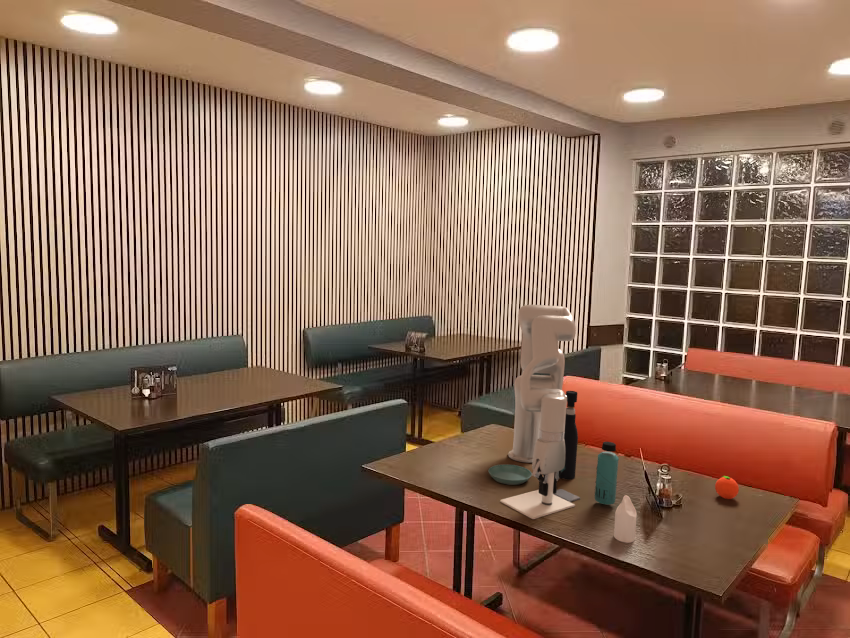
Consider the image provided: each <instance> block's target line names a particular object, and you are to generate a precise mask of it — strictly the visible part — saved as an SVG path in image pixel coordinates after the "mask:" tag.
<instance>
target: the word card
mask: <svg viewBox="0 0 850 638" xmlns="http://www.w3.org/2000/svg"><path fill="white" fill-rule="evenodd" d="M553 494H554V493H553ZM554 495H556V496H558V497H560V498H562V499H564V500H566V501H568V502H571V503H572V502H574V501H578V500H581V497H580V496H578V495H577V494H576V495H575V494H574V493H571V492H570V491H567V490H565V489H563V488H559V489H557V491H556V494H554Z"/></svg>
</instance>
